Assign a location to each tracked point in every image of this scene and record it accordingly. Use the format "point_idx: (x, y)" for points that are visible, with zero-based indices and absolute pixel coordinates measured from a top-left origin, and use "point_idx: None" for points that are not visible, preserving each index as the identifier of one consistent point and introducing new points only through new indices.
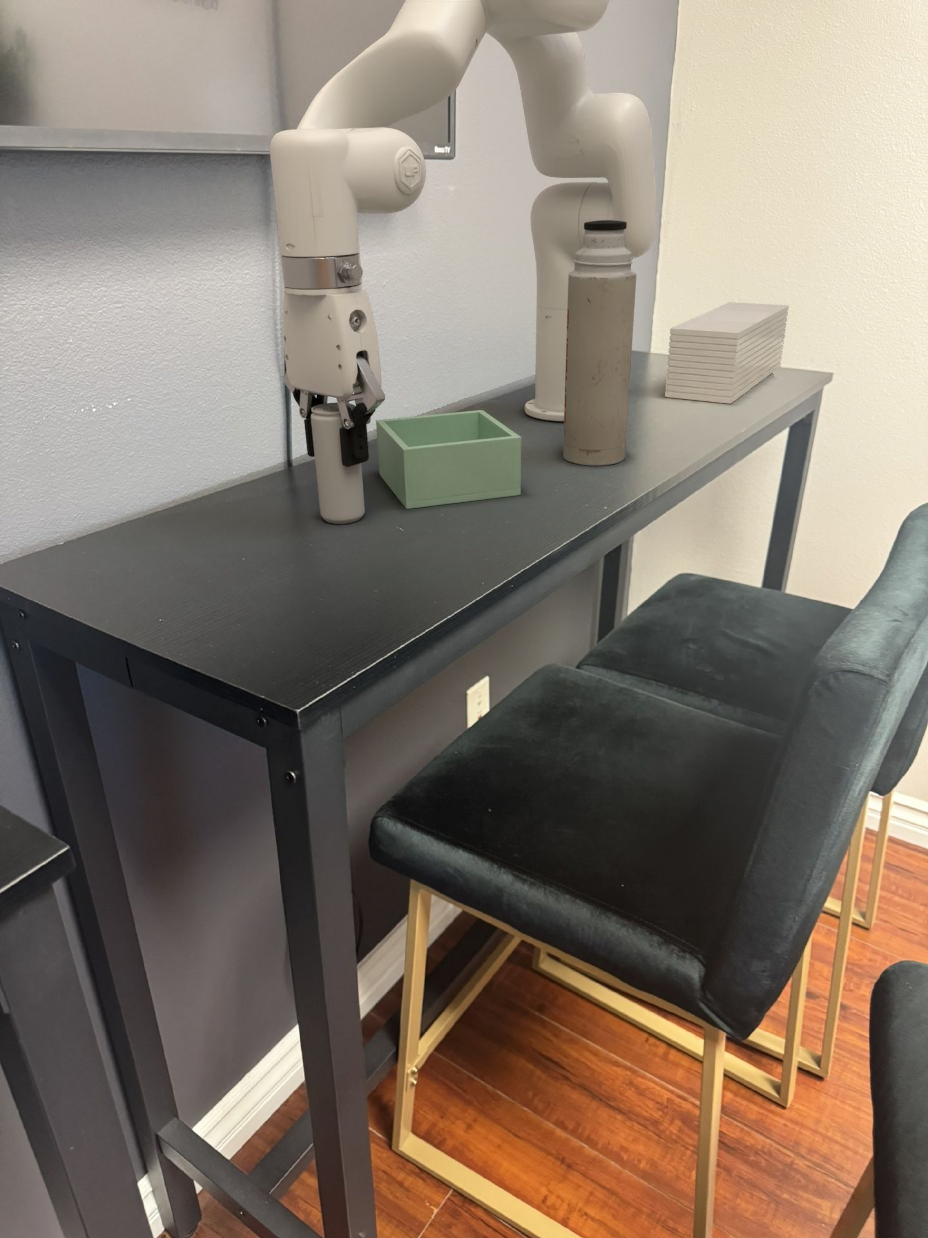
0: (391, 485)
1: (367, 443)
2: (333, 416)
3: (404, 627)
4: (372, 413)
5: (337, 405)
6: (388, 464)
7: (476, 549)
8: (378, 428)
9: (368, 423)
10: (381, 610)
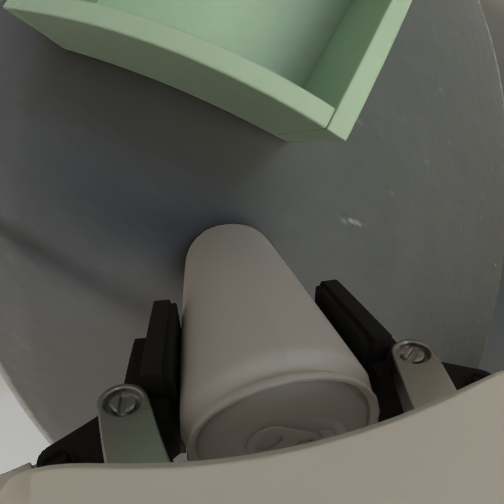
0: (166, 82)
1: (354, 299)
2: None
3: (472, 359)
4: (469, 371)
5: (251, 419)
6: (140, 63)
7: (465, 202)
8: (31, 16)
9: (412, 342)
10: (451, 363)
